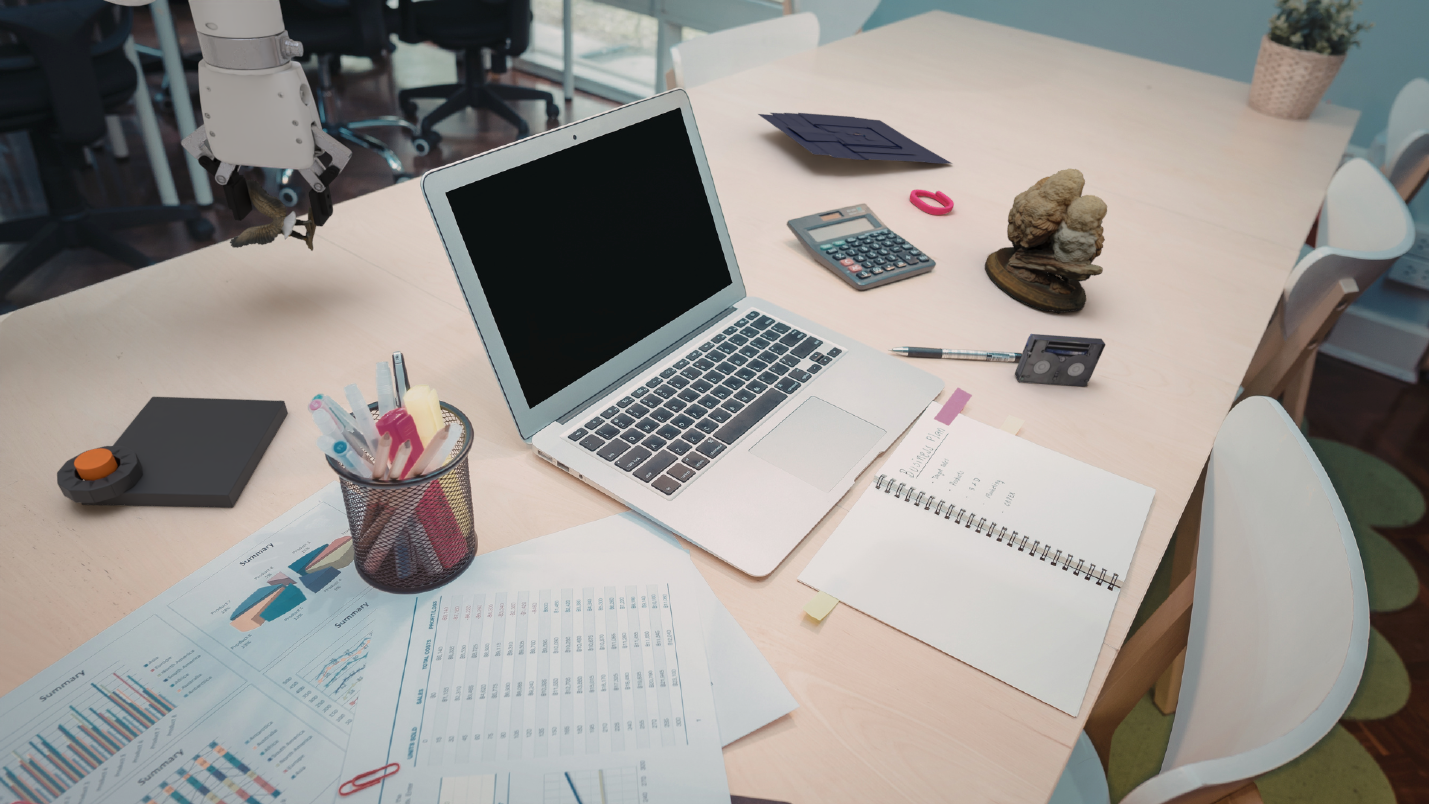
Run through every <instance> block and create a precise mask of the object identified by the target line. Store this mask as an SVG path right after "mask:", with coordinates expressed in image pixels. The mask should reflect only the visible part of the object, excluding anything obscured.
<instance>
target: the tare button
mask: <svg viewBox="0 0 1429 804" xmlns="http://www.w3.org/2000/svg"><path fill="white" fill-rule="evenodd" d="M97 448H98V449H96V448H91V449H88V450H89V451H88V450H86V451H83V452H84V453H83V452H81V453H82V454H81V453H80V454H81V455H79V454H78V455H79V456H78V457H77V458H76V459H75V461H74V466H75V467H76V469H77V471H78V473H79V475H80V477H81V478H82V479H83V480H86V481H94V480H98V479H101V478H105V477H106V476H108V475H110V474H112V473H113V472H115V471H116V469H117V463H116V461H115V459H114V457H113V454H112V452H111V451H109V450H108V449H103V448H100V447H97Z"/></svg>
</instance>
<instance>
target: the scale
mask: <svg viewBox="0 0 1429 804" xmlns="http://www.w3.org/2000/svg"><path fill="white" fill-rule="evenodd" d="M288 414H289V412H288V408H287V405H286V402H285V400H273V399H272V400H271V399H270V400H267V399H236V398H212V397H211V398H209V397H207V398H206V397H203V398H202V397H177V396H176V397H175V396H173V397H172V396H152V397H150V399H149V400H148V402H147V403H146V404H145V405H144V406H143V407H142V409H141V410H140V411H139V413H137V415H136V416H135V417H134V419H133V420H132V421H131V422H130V424H129V425H128V426H127V427H126V429H124V431H123V432H122V433H121V435H120V436H119V437H118V438H117V439H116V441H115V442H114V443H113V445H104V446H100V447H96V448H95V449H98V448H103V449H108V450H109V451H111V452H112V454H113V457H114V459H115V461H116V463H117V469H116V471H115V472H113V473H112V474H110V475H108V476H106V477H105V478H101V479H98V480H94V481H86V480H83V479H82V478H81V477H80V475H79V473H78V471H77V469H76V467H75V466H74V461H75V459H76V458H77V457H78V456H79V455H81V454H82V453H84V452H85V451H83V452H80V453H79V454H77V455H76V456H74V457H72V458H70V459H68V460H67V461H65V463H64V464H63V465H62V466H61V467H60V468H59V470H58V471H57V472H56V483H57V486H58V488H59V489H60V491H61V493H62V496H64V497H65V498H67V499H69V500H71V501H72V502H74V503H77V504H78V503H79V504H81V506H113V507H114V506H115V507H116V506H117V507H119V506H120V507H121V506H122V507H162V508H165V507H166V508H168V507H169V508H170V507H172V508H210V509H211V508H215V509H221V508H222V509H234V507H235V506H236V504H237V503H238V501H239V499H240V497H241V495H242V494H243V492H244V491H245V489H246V487H247V485H248V483H249V481H250V480H251V478H252V477H253V475H254V473H255V472H256V469H257V468H258V466H259V464H260V463H261V461H262V459H263V458H264V456H265V454H266V452H267V450H268V449H269V447H270V445H271V444H272V442H273V440H274V438H275V437H276V435H277V433H278V431H279V430H280V428H281V426H282V424H284V423H283V422H285V419H286V417H287V416H288ZM89 450H90V449H88V450H87V451H89Z"/></svg>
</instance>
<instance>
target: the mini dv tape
mask: <svg viewBox="0 0 1429 804" xmlns="http://www.w3.org/2000/svg"><path fill="white" fill-rule="evenodd" d="M1105 347H1106V343H1105V342H1104V340H1103V339H1102V338H1096V337H1085V336H1084V337H1083V336H1067V335H1053V334H1038V333H1030V334H1029V335H1028V338H1027V340H1026V343H1025V345H1024V348H1023V350H1022V353H1021V356H1020V359H1019V361H1018V363H1017V366H1016V368H1015V371H1014V376H1015V378H1016V380H1017V383H1024V384H1025V383H1026V384H1041V385H1052V386H1069V387H1070V386H1071V387H1081V388H1083V387H1084V388H1086V387H1087V386H1088V384H1089V382H1090V380H1091V378H1092V376H1093V374H1094V371H1095V369H1096V367H1097V365H1098V363H1099V361H1100V359H1101V356H1102V355H1103V351H1104V349H1105Z"/></svg>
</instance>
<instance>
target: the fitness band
mask: <svg viewBox="0 0 1429 804" xmlns="http://www.w3.org/2000/svg"><path fill="white" fill-rule="evenodd" d="M919 197H926V198H931V199H933V200H935V201H937V202H938V203H940V204H941V205H943V206H942V207H940V206H939V207H938V206H933V205H930V204H928V203H927V202H925V201H923V200H922V199H921V198H919ZM909 202H911V204H913V205H914V206H915V207H916V208H918V209H919V210H921V211H922V212H924V213H926V214H929V215H932V216H933V215H934V216H941V215H946V214H948V213H950V212H952V211H953V209H954V206H955V202H954V200H953V199H952V198H951V197H950V196H948V195H946V194H945V193H943V192H942V191H941V190H936V191H935V192H932V191H929V190H926V189H913V190H911V191H910V194H909Z"/></svg>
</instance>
